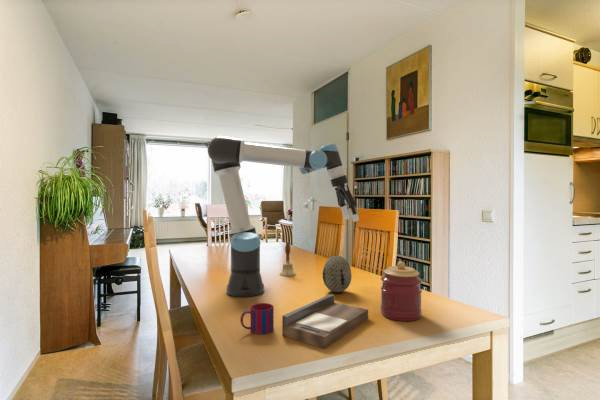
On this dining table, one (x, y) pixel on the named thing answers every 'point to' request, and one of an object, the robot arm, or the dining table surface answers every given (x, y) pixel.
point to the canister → (401, 293)
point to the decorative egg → (337, 274)
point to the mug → (260, 318)
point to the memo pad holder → (322, 321)
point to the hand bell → (287, 264)
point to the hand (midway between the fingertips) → (351, 220)
